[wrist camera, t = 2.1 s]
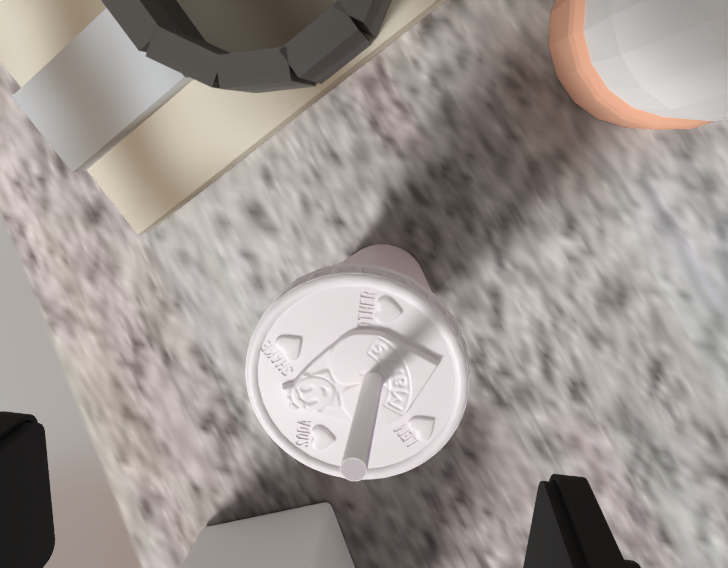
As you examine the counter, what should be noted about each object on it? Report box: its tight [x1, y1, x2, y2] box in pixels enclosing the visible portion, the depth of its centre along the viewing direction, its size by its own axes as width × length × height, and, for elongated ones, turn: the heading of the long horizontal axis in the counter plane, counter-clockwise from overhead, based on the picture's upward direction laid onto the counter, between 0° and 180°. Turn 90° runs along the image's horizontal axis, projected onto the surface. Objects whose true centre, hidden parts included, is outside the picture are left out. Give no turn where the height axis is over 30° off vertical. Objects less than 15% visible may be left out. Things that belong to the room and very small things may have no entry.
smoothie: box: [245, 244, 470, 481], centre depth 19 cm, size 6×6×14 cm
